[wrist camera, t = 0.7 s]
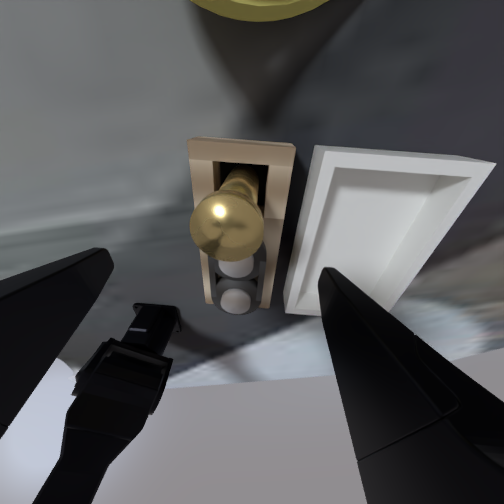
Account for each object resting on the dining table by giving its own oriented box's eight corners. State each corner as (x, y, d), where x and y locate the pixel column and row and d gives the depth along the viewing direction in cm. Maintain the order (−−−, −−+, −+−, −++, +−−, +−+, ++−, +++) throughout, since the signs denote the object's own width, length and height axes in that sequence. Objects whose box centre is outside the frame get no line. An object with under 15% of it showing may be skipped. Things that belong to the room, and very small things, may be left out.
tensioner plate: (268, 290, 27) (269, 324, 23) (211, 286, 27) (201, 318, 23) (291, 143, 17) (300, 152, 12) (198, 136, 17) (175, 143, 12)
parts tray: (369, 299, 27) (382, 321, 24) (283, 292, 27) (285, 313, 24) (456, 155, 16) (496, 163, 14) (314, 144, 17) (325, 150, 14)
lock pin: (262, 203, 20) (260, 264, 12) (223, 200, 20) (194, 258, 12) (266, 160, 18) (267, 199, 9) (222, 157, 18) (184, 193, 9)
